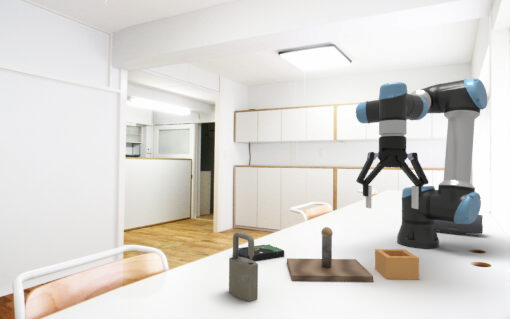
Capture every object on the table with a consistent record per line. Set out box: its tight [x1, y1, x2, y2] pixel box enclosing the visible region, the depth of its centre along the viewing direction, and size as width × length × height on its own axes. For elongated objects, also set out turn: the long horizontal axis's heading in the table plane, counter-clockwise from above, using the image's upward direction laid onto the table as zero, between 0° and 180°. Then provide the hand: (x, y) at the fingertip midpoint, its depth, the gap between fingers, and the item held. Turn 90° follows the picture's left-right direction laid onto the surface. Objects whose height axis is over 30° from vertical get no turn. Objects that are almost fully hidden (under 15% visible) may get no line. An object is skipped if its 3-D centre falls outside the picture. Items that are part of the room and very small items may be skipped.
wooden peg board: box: [286, 226, 374, 283], centre depth 99 cm, size 22×16×13 cm
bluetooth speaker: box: [434, 214, 484, 236], centre depth 157 cm, size 23×9×10 cm, turn 58°
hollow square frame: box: [374, 248, 420, 280], centre depth 98 cm, size 9×9×6 cm
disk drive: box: [238, 244, 285, 262], centre depth 115 cm, size 10×3×15 cm
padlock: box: [228, 231, 259, 302], centre depth 81 cm, size 4×8×15 cm, turn 40°
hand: (391, 208), depth 99 cm, fingers open, 13 cm apart
